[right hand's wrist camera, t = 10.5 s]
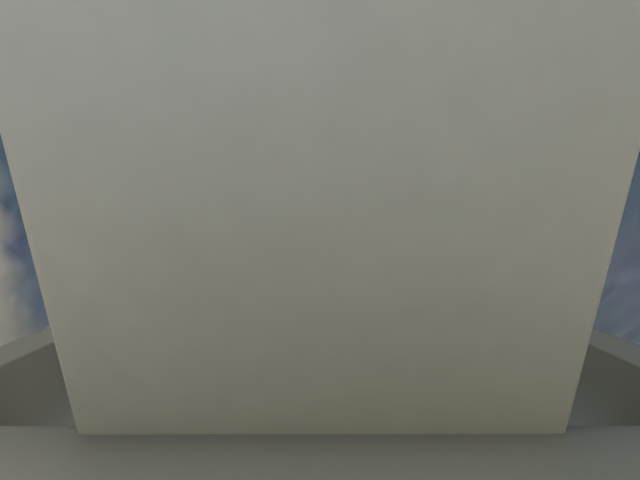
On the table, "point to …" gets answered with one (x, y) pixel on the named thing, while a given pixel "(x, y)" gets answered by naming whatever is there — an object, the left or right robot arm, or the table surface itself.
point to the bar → (321, 206)
